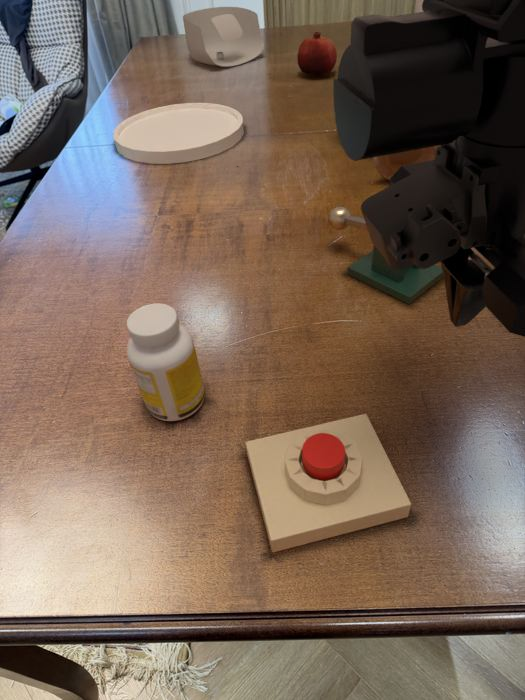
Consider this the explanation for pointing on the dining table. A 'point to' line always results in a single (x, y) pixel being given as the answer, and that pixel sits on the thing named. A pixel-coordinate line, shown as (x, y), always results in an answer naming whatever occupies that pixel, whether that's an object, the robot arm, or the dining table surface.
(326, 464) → the button
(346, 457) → the button box
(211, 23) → the grey curved shell
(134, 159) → the plate
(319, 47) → the fruit
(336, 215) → the lever
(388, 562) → the dining table surface
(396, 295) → the bracket
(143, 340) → the pill bottle
